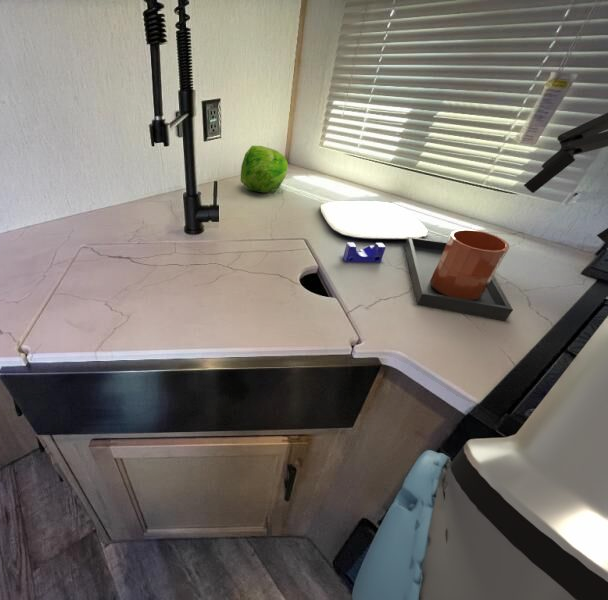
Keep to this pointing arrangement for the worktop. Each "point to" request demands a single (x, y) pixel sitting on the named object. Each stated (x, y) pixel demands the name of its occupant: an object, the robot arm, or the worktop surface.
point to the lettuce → (263, 169)
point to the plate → (372, 220)
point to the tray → (421, 267)
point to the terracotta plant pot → (468, 263)
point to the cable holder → (364, 253)
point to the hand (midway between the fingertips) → (561, 212)
